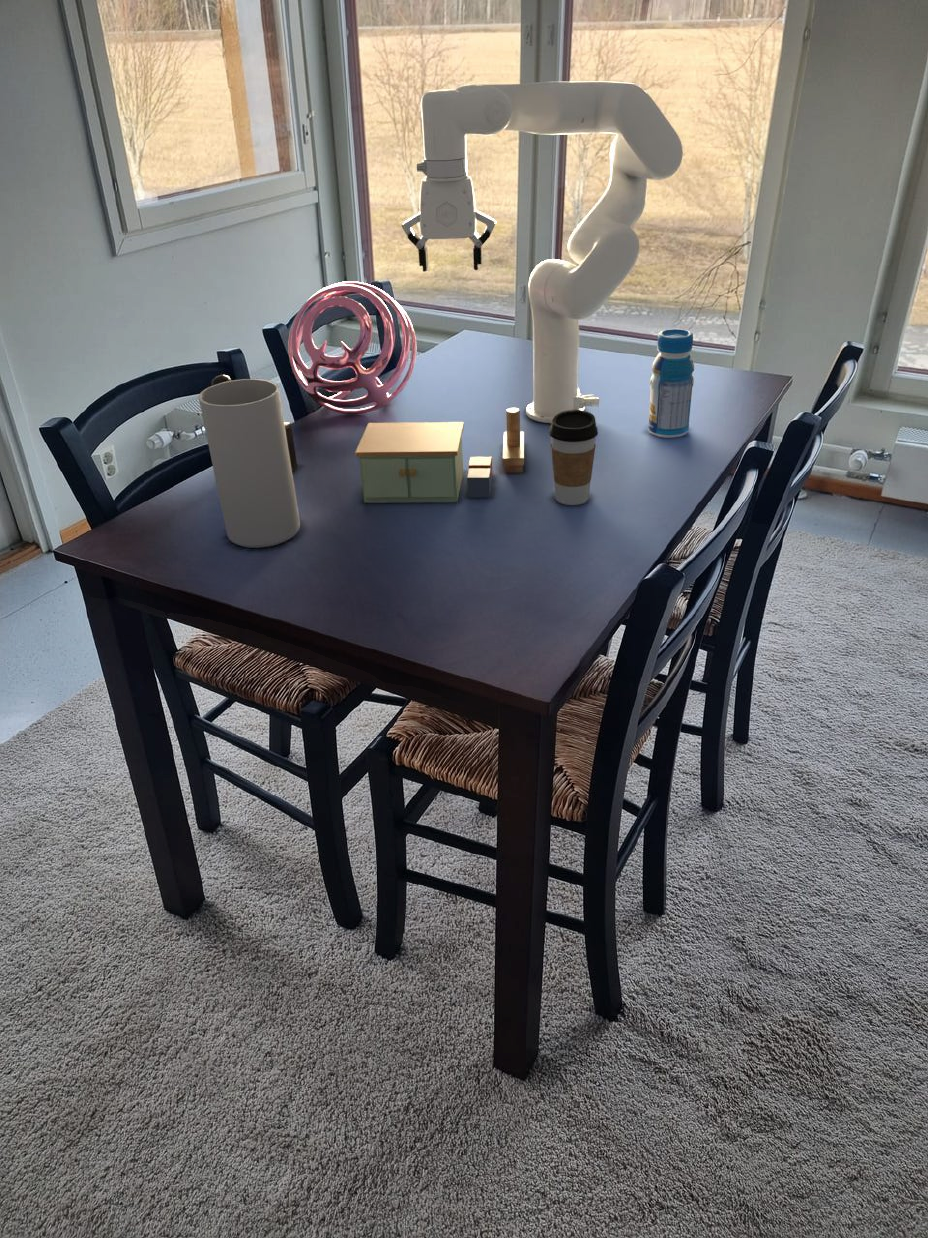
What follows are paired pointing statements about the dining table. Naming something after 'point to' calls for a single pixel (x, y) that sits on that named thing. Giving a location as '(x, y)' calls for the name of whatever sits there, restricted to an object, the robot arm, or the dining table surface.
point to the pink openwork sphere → (351, 350)
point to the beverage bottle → (671, 384)
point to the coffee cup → (573, 455)
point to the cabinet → (411, 462)
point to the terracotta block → (481, 463)
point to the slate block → (479, 482)
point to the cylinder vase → (251, 461)
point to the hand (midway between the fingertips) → (450, 269)
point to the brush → (513, 443)
